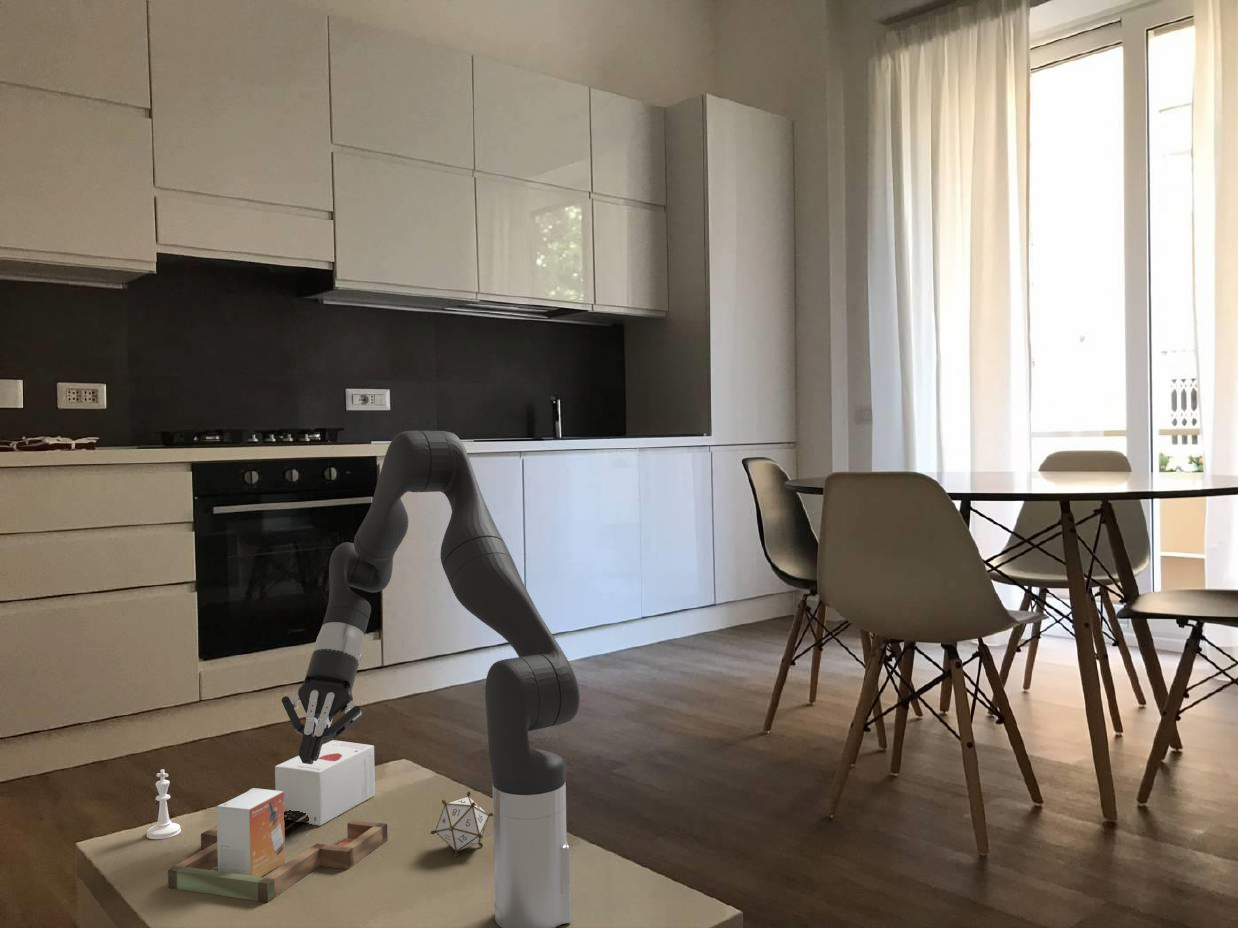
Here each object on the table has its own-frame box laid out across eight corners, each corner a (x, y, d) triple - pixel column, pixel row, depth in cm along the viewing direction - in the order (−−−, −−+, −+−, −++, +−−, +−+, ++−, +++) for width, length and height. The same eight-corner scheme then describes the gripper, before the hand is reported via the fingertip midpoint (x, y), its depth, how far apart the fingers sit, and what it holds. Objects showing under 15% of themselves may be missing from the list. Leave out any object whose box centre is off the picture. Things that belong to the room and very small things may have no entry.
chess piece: (169, 840, 158) (167, 775, 157) (139, 838, 158) (138, 774, 158) (187, 827, 163) (185, 765, 162) (158, 826, 163) (157, 764, 163)
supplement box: (375, 744, 176) (320, 771, 162) (376, 795, 176) (320, 827, 162) (331, 738, 179) (273, 764, 165) (332, 788, 179) (274, 819, 165)
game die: (451, 877, 152) (409, 829, 150) (471, 837, 159) (431, 791, 157) (495, 857, 148) (452, 808, 146) (513, 816, 156) (472, 769, 154)
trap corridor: (248, 823, 164) (248, 807, 164) (387, 839, 157) (387, 823, 156) (141, 883, 142) (141, 865, 142) (297, 906, 135) (296, 887, 135)
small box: (250, 885, 141) (248, 809, 141) (216, 880, 143) (215, 805, 143) (286, 862, 149) (285, 790, 149) (254, 857, 151) (252, 786, 150)
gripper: (291, 641, 163) (258, 748, 153) (374, 652, 163) (346, 760, 153) (299, 660, 169) (268, 764, 159) (379, 671, 169) (353, 775, 160)
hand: (306, 762), depth 157 cm, fingers closed
